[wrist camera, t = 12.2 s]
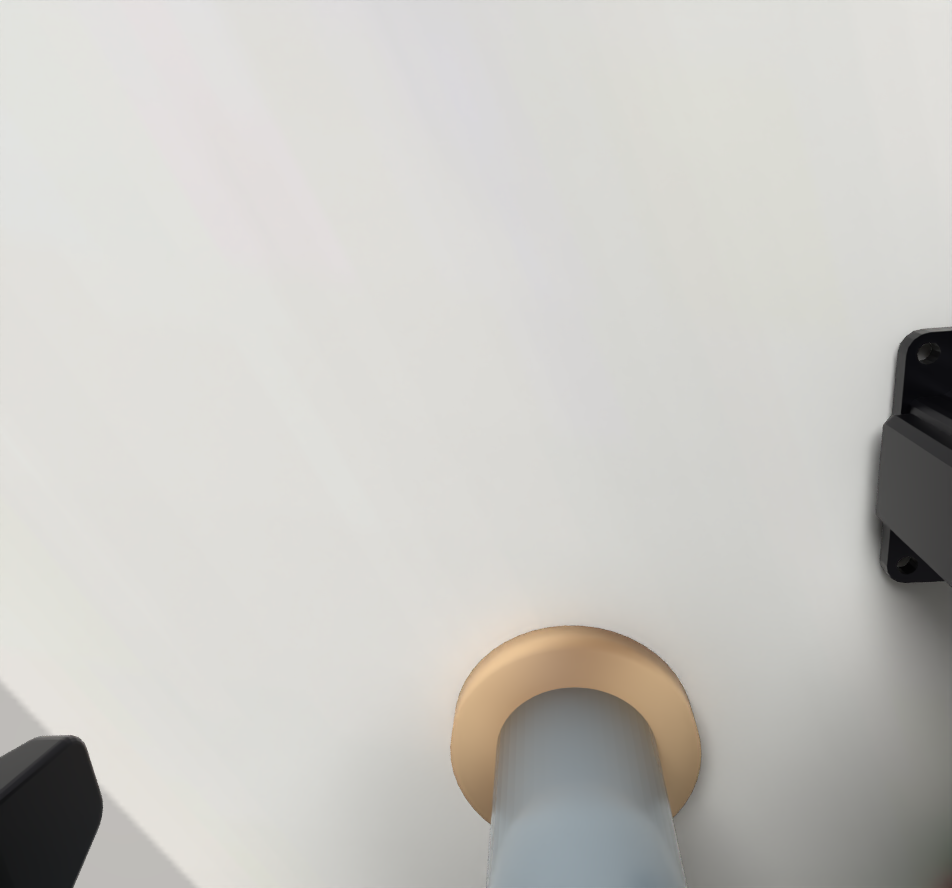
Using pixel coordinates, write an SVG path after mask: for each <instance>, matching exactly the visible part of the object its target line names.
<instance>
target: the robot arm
mask: <svg viewBox="0 0 952 888" xmlns="http://www.w3.org/2000/svg"><path fill="white" fill-rule="evenodd" d="M926 343H931V347H932V350H931V353H930V355H929V356H928V357H927V358H926V359H923V360H920V361H919V360H918V357H917V353H918V350H919V348H920V347H921V346H922V345H924V344H926ZM876 515H877V517H878V518H879V519H880V520H881V521H882V522H883V531H882V542H881V553H880V562H881V566H882V568H883V569H884V570H885V572H886V573H887V574H888V575H889V576H890V577H891V578H892V579H894V580H896V581H897V582H903V583H913V582H936V581H946V582H947V583H948V584H949V585H950V586H951V587H952V327H942V328H929V329H920V330H916V331H913V332H912V333H910V334H909V335H907V336H906V337H905V338H904V340H903V341H902V342H901V343H900V347H899V350H898V358H897V370H896V381H895V393H894V404H893V415H891V416H890V418H889V419H888V420H887V421H886V422H885V423H884V425H883V433H882V445H881V457H880V469H879V481H878V493H877V505H876ZM908 556H909V557H911V558H910V560H909V562H908V563H907V564H906V565H905V566H901V567H897V564H898V562H899V561H900V560H901V559H902V558H904V557H908ZM102 811H103V801H102V795H101V792H100V789H99V786H98V783H97V779H96V776H95V773H94V770H93V767H92V764H91V760H90V757H89V754H88V751H87V748H86V745H85V743H84V742H83V741H82V740H81V739H80V738H79V737H76V736H73V735H60V736H40V737H36V738H34V739H32V740H29V741H28V742H26V743H24V744H22V745H21V746H19V747H17V748H16V749H14V750H12V751H10V752H8V753H7V754H5V755H3V756H1V757H0V888H73V887H74V885H75V882H76V880H77V878H78V875H79V873H80V871H81V868H82V866H83V863H84V861H85V859H86V856H87V854H88V852H89V849H90V847H91V845H92V842H93V840H94V837H95V835H96V833H97V830H98V828H99V825H100V821H101V818H102Z"/></svg>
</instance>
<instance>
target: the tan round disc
mask: <svg viewBox="0 0 952 888" xmlns="http://www.w3.org/2000/svg"><path fill="white" fill-rule="evenodd" d="M572 687H579V688H590V689H595V690H600V691H603V692H606V693H609V694H612V695H614V696H616V697H618V698H620V699H622V700H624V701H626V702H627V703H629V704H630V705H631V706H633V707H634V708H635V709H636V710H637V711H638V712H639V713H640V714H641V715H642V716H643V717H644V718H645V720H646V721H647V722H648V724H649V726H650V727H651V729H652V731H653V734H654V736H655V739H656V744H657V748H658V753H659V757H660V762H661V767H662V771H663V776H664V780H665V785H666V790H667V794H668V799H669V803H670V808H671V813H672V817H674V816H675V815H676V814H677V813H678V812H679V810H680V809H681V808H682V807H683V806H684V804H685V803H686V801H687V800H688V798H689V796H690V795H691V793H692V791H693V789H694V786H695V784H696V782H697V778H698V774H699V770H700V764H701V744H700V738H699V734H698V730H697V726H696V723H695V719H694V716H693V713H692V710H691V706H690V703H689V700H688V697H687V695H686V692H685V690H684V688H683V686H682V684H681V683H680V681H679V679H678V678H677V676H676V674H675V673H674V672H673V671H672V670H671V668H670V667H669V666H668V665H667V664H666V663H665V662H664V661H663V660H662V659H661V658H660V657H659V656H657V655H656V654H655V653H654V652H652V651H651V650H649V649H648V648H647V647H645V646H644V645H642V644H640V643H638V642H636V641H634V640H632V639H631V638H628V637H626V636H623V635H621V634H618V633H615V632H612V631H608V630H604V629H600V628H594V627H586V626H557V627H548V628H543V629H539V630H534V631H531V632H528V633H525V634H522V635H519V636H517V637H515V638H513V639H511V640H509V641H507V642H505V643H503V644H502V645H500V646H499V647H497V648H496V649H494V650H492V651H491V652H490V653H489V654H488V655H487V656H485V657H484V658H483V659H482V660H481V661H480V662H479V663H478V664H477V666H476V667H475V668H474V669H473V670H472V672H471V673H470V675H469V676H468V678H467V679H466V681H465V683H464V685H463V687H462V689H461V691H460V694H459V697H458V701H457V705H456V710H455V717H454V723H453V730H452V737H451V746H450V749H451V762H452V767H453V772H454V775H455V778H456V780H457V783H458V785H459V787H460V789H461V791H462V793H463V795H464V796H465V798H466V799H467V801H468V802H469V803H470V805H471V806H472V807H473V808H474V810H475V811H476V812H477V813H478V814H479V815H480V816H481V817H482V818H483V819H485V820H486V821H487V822H488V823H490V824H491V814H492V800H493V786H494V772H495V758H496V745H497V740H498V736H499V733H500V730H501V728H502V726H503V724H504V722H505V721H506V719H507V718H508V717H509V715H510V714H511V713H512V712H513V711H514V710H515V709H516V708H517V707H518V706H520V705H521V704H522V703H524V702H525V701H527V700H529V699H530V698H532V697H534V696H536V695H539V694H541V693H544V692H547V691H551V690H554V689H561V688H572Z"/></svg>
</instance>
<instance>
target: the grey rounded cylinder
mask: <svg viewBox="0 0 952 888" xmlns="http://www.w3.org/2000/svg"><path fill="white" fill-rule="evenodd" d="M486 888H688V886H687V882H686V877H685V872H684V868H683V863H682V859H681V854H680V849H679V845H678V840H677V836H676V831H675V826H674V822H673V817H672V813H671V808H670V803H669V799H668V794H667V790H666V785H665V780H664V776H663V771H662V767H661V762H660V757H659V753H658V748H657V744H656V739H655V736H654V734H653V731H652V729H651V727H650V726H649V724H648V722H647V721H646V720H645V718H644V717H643V716H642V715H641V714H640V713H639V712H638V711H637V710H636V709H635V708H634V707H633V706H631V705H630V704H629V703H627V702H626V701H624V700H622V699H620V698H618V697H616V696H614V695H612V694H609V693H606V692H603V691H600V690H595V689H590V688H579V687H572V688H561V689H554V690H551V691H547V692H544V693H541V694H539V695H536V696H534V697H532V698H530V699H529V700H527V701H525V702H524V703H522V704H521V705H520V706H518V707H517V708H516V709H515V710H514V711H513V712H512V713H511V714H510V715H509V717H508V718H507V719H506V721H505V722H504V724H503V726H502V728H501V730H500V733H499V736H498V740H497V745H496V758H495V772H494V786H493V800H492V814H491V828H490V842H489V856H488V870H487V884H486Z"/></svg>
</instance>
